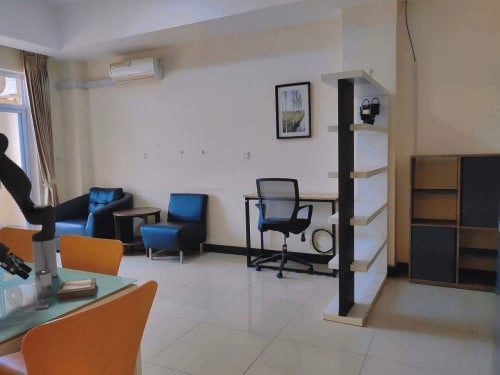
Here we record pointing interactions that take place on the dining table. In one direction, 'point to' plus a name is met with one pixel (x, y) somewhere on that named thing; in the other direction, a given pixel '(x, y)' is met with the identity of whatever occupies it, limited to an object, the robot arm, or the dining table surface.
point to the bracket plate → (42, 305)
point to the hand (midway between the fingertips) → (29, 274)
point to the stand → (77, 289)
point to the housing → (44, 283)
